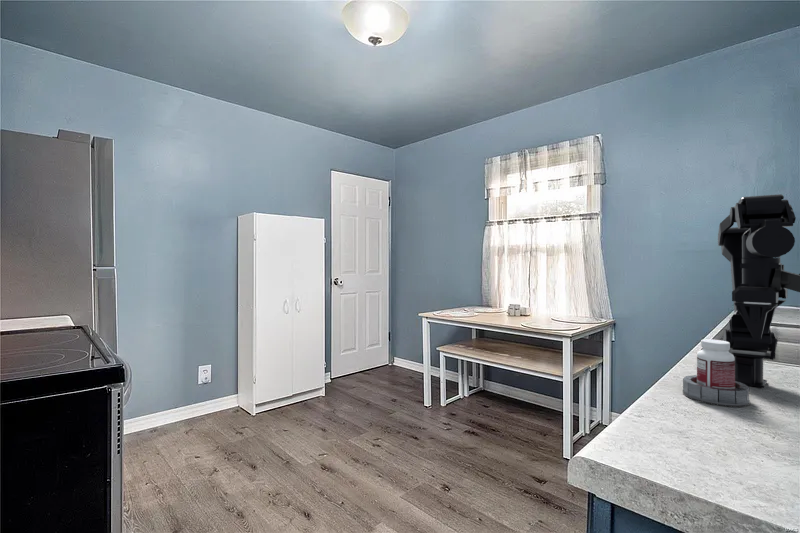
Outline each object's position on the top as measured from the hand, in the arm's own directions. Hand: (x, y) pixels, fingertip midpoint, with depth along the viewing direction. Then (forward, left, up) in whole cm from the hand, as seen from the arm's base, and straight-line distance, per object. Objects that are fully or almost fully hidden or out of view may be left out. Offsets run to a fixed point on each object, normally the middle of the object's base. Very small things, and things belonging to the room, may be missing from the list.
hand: (761, 336), depth 80 cm
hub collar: (+4, -7, -13) cm, 15 cm away
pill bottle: (+4, -7, -13) cm, 15 cm away
